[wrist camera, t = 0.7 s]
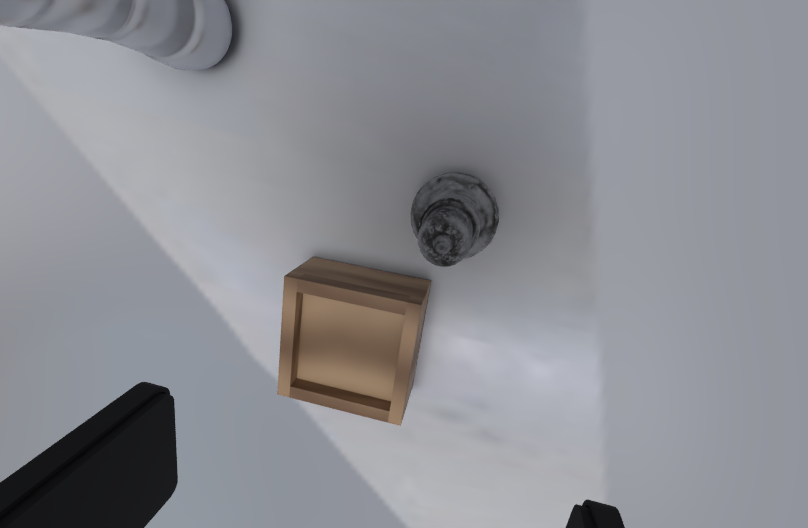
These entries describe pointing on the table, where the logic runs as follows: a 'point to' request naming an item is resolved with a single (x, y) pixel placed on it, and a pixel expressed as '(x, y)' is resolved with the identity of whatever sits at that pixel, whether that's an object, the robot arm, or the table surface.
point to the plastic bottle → (135, 25)
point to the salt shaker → (453, 218)
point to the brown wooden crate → (351, 337)
